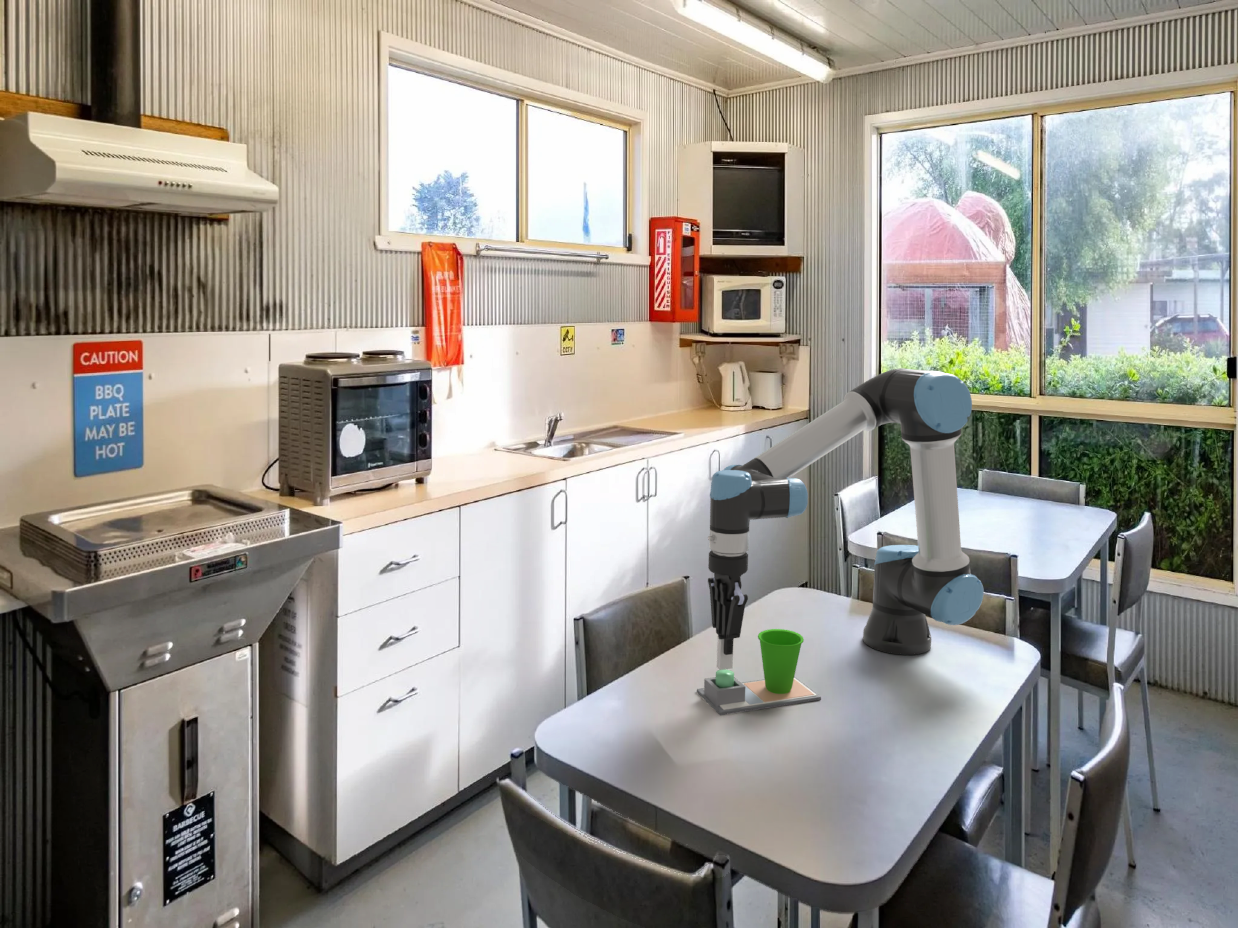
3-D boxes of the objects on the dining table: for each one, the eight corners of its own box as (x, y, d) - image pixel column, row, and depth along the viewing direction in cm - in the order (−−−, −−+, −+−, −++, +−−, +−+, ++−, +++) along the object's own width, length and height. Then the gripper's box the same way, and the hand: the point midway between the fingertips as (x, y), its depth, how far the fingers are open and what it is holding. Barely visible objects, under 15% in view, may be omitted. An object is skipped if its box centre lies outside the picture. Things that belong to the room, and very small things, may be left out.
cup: (801, 700, 174) (804, 647, 172) (754, 696, 176) (756, 643, 174) (801, 681, 183) (803, 630, 181) (756, 677, 184) (758, 627, 182)
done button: (728, 682, 177) (729, 668, 177) (736, 689, 174) (737, 675, 173) (712, 684, 176) (712, 670, 176) (720, 692, 173) (720, 677, 172)
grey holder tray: (792, 677, 186) (793, 660, 186) (820, 699, 176) (821, 681, 176) (696, 691, 179) (697, 673, 179) (720, 715, 169) (720, 696, 169)
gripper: (696, 544, 175) (693, 657, 179) (725, 561, 163) (721, 683, 167) (731, 541, 177) (727, 653, 181) (762, 558, 165) (757, 678, 169)
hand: (724, 667), depth 174 cm, fingers closed
